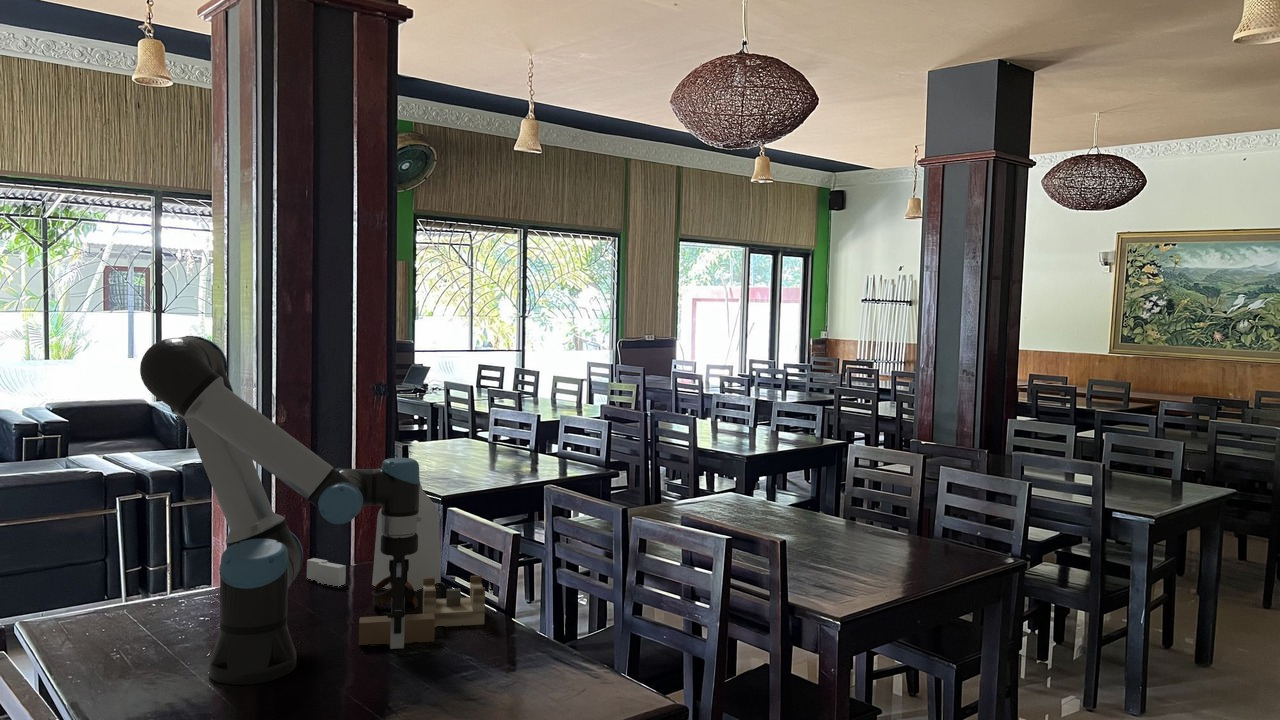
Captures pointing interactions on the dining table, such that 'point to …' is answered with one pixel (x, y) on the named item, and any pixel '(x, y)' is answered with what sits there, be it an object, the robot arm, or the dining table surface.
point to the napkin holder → (326, 572)
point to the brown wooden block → (380, 629)
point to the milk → (427, 554)
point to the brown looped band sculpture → (387, 595)
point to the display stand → (455, 604)
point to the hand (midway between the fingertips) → (397, 637)
